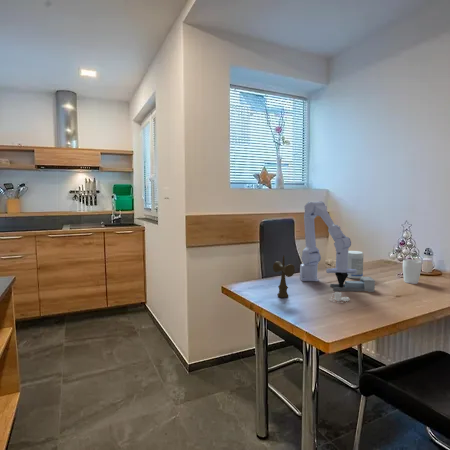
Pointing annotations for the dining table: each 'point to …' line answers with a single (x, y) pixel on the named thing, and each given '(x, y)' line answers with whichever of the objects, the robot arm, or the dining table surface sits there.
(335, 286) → the track
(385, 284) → the dining table surface
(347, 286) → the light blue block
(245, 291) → the dining table surface
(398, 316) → the dining table surface
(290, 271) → the kendama
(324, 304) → the dining table surface
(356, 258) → the supplement tub
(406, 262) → the cup
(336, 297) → the teacup and saucer
